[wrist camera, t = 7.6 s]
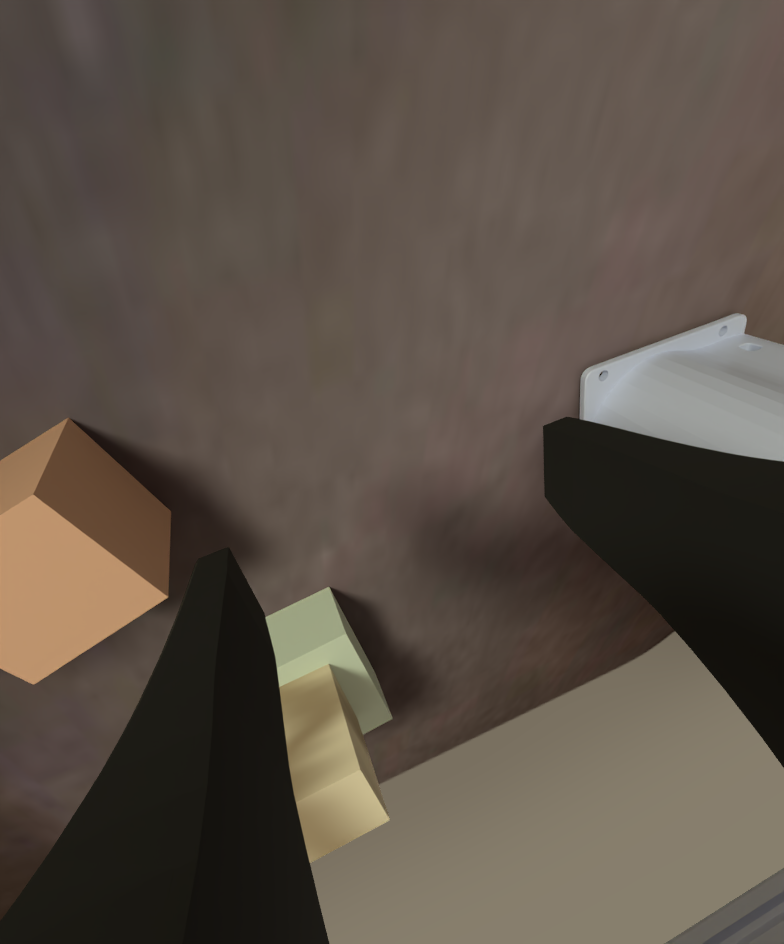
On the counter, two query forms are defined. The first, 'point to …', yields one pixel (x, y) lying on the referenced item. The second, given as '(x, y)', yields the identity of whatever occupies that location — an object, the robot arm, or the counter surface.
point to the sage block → (327, 653)
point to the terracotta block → (73, 550)
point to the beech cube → (328, 764)
